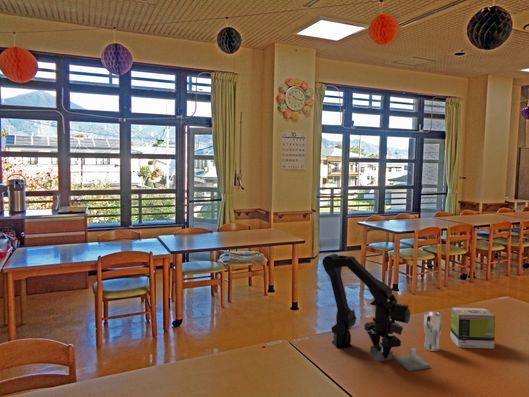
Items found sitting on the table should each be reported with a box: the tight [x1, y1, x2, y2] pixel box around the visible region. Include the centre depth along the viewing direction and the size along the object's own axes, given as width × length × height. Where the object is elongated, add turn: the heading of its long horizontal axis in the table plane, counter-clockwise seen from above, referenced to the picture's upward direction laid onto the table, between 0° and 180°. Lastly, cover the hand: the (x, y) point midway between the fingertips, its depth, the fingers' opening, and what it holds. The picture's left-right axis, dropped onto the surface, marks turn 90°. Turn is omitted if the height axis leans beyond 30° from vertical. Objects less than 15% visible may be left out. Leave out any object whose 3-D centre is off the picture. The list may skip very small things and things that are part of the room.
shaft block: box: [395, 347, 430, 371], centre depth 161 cm, size 9×9×6 cm
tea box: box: [450, 306, 496, 350], centre depth 179 cm, size 15×10×15 cm, turn 84°
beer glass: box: [423, 310, 443, 352], centre depth 175 cm, size 7×7×15 cm
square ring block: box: [369, 344, 394, 362], centre depth 167 cm, size 6×6×4 cm
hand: (381, 354), depth 167 cm, fingers closed on square ring block, 6 cm apart
